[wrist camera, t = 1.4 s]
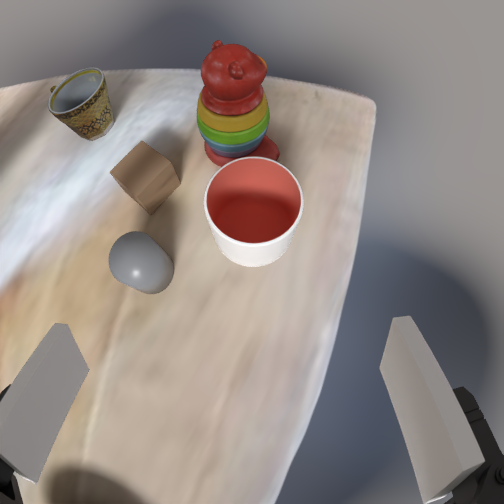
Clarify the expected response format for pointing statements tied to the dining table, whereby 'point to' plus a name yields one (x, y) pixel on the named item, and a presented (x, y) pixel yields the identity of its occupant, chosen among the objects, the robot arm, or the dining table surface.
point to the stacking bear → (234, 105)
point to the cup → (253, 209)
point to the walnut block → (146, 176)
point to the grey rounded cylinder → (141, 263)
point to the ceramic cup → (83, 103)
